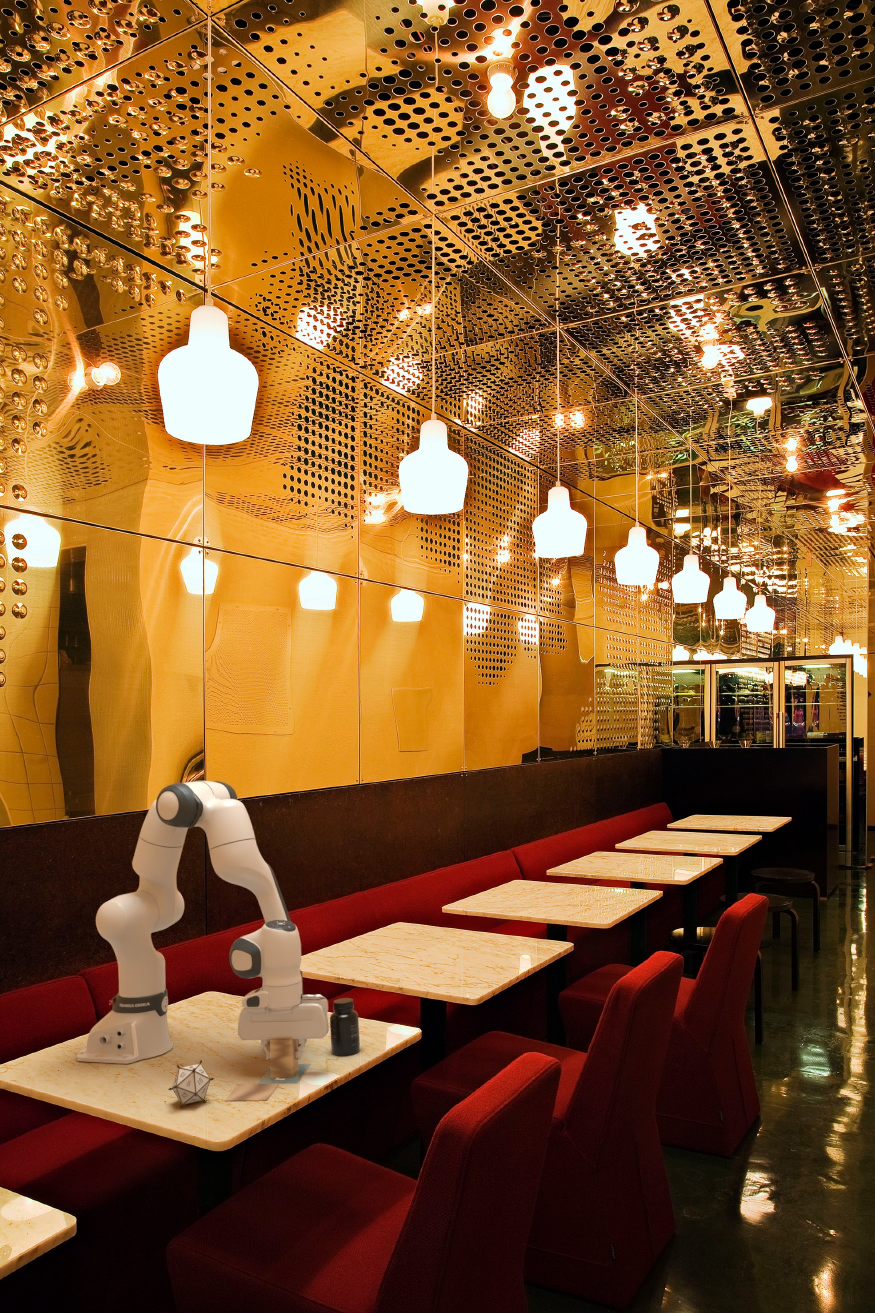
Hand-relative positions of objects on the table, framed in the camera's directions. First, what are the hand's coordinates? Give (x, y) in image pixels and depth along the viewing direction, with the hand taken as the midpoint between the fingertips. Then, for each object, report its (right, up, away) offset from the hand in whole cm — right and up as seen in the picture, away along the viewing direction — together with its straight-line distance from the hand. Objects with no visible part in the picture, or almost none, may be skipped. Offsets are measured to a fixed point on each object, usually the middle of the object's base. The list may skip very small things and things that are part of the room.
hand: (284, 1059), depth 195 cm
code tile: (0, -3, 0) cm, 3 cm away
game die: (-17, -3, -15) cm, 22 cm away
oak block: (0, -3, 0) cm, 3 cm away
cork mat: (-5, -2, -11) cm, 12 cm away
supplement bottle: (+12, -4, +12) cm, 18 cm away
